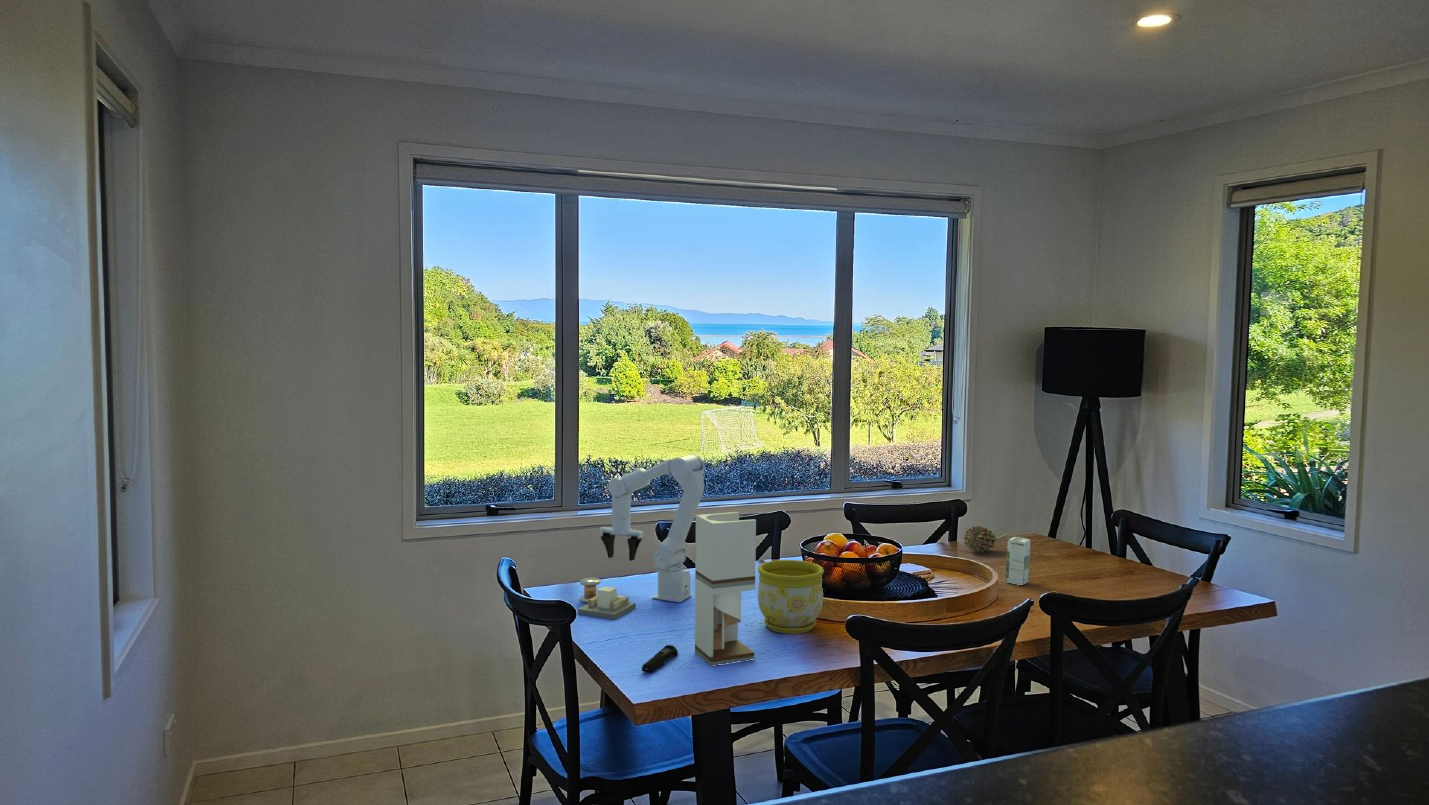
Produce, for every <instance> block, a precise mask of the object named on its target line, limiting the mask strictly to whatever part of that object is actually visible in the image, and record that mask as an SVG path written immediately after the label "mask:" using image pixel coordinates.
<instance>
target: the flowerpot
mask: <svg viewBox="0 0 1429 805" xmlns="http://www.w3.org/2000/svg"><path fill="white" fill-rule="evenodd" d="M757 572H758V573H759V576H758V579H759V581H758V586H757V587H758V588H757V602H758V607H759V610H760V612H761V614H762V616H763V617H764V619H763V623H764V624H765V625H766V626H767V628H768V629H769V630H771V631H773V632H775V633H776V632H777V633H780V632H781V633H780V634H790V635H792V634H793V635H795V634H802V633H803V634H804V633H808V632H809V631H811V630H812V629H813V628H814V627H815V626H816V625H817V620H816V619H817V617H818V616H819V615H820V612H822V611H821V610H822V609H823V608H822V607H823V604H824V603H823V602H824V592H823V588H822V580H823V579H822V575H823V573H824V569H823V567H821V566H820V565H818V564H815V563H812V561H807V560H800V559H799V560H796V559H774V560H770V561H766V562H763V563H761V564H759V565H758V566H757Z"/></svg>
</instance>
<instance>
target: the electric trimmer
mask: <svg viewBox="0 0 1429 805" xmlns="http://www.w3.org/2000/svg"><path fill="white" fill-rule="evenodd" d="M678 655H679V651H678V649H677V648H676V646H674V645H672V644H667V645H665V646H663V647H662V648H661V649H660V650H659V651H658V652H657V653H655V654H654V655H653V656H652V657H651V658H650V659H648V660H647V661H646V662H645V663H643V665H642V666H641V671H642V672H645V673H652V672H655V671H657V670H658V669H660V668H662V667H664V665H665V662H667V661H668V660H670V659H671V658H672V657H678Z"/></svg>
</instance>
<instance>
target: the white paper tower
mask: <svg viewBox="0 0 1429 805" xmlns="http://www.w3.org/2000/svg"><path fill="white" fill-rule="evenodd" d="M756 540H757V519H754V518H753V519H744V520H743V519H741V520H740V512H739V511H730V512H719V513H706V514H704V513H703V514H695V564H694V565H695V574H694V576H695V579H694V580H695V581H694V582H695V585H694V588H695V590H694V591H695V592H694V596H695V598H694V600H695V602H694V603H695V604H694V607H695V608H694V653H695V654H696V655H697V656H698V655H699V656H700V657H699V656H698V657H699V658H701V659H702V658H703V659H704V660H705V661H707V662H708V663H707V664H708V665H709V664H710V665H711V666H713V665H718V664H726V663H732V662H737V661H746V660H750V659H754V660H755V651H753V650H752V649H751V648H749V647H748V646H746V645H745V644H744V643H742V642H741V641H740V640H739V639H738V636H739V635H738V634H739V632H738V631H739V627H738V625H739V623H741V622H742V592H745V591H746V592H747V591H753V590H755V591H756V558H757V557H756V556H757V555H756V553H757V552H756V551H757V548H756V547H757V546H756V545H757V544H756V543H757V541H756ZM703 659H702V660H703ZM704 660H703V661H704ZM705 661H704V662H705ZM710 665H709V666H710ZM711 666H710V667H711Z"/></svg>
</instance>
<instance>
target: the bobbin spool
mask: <svg viewBox="0 0 1429 805" xmlns="http://www.w3.org/2000/svg"><path fill="white" fill-rule="evenodd" d="M579 584H580V585H581V586H584V587H583V591H584V592H583V593H584V594H583V595H582V596H580V597H579V598H580V599H579V601H580V602H581V603H583V604H584V603H585V604H588V600H589V599H591V598H593V597H595V596H597V586H599V585H600V584H601V579H600V578H597V577H585V578H581V579H580V580H579Z"/></svg>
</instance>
